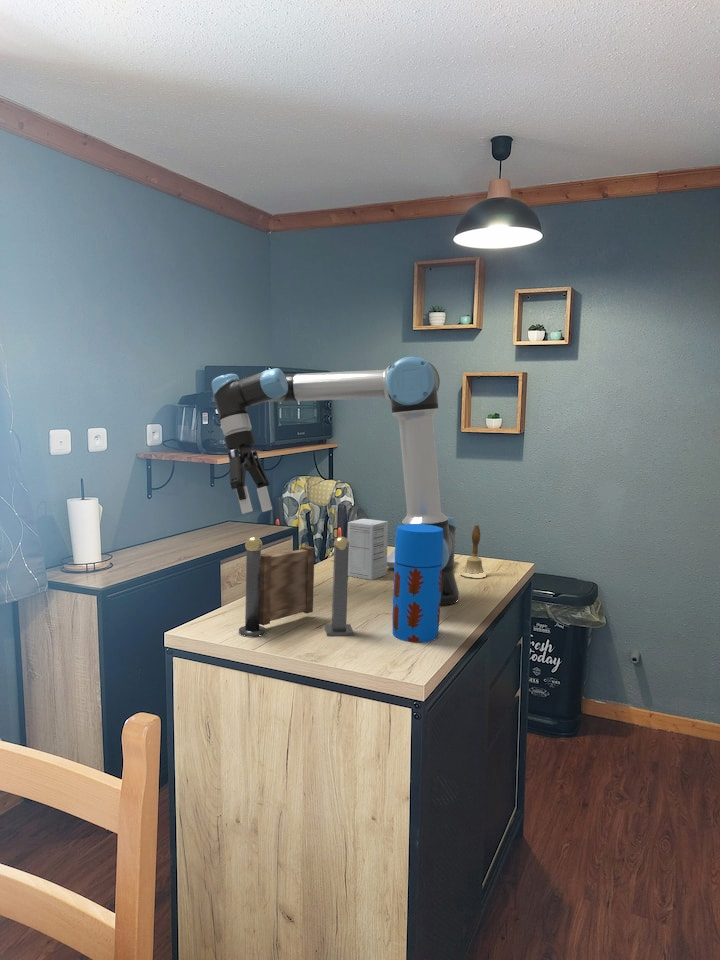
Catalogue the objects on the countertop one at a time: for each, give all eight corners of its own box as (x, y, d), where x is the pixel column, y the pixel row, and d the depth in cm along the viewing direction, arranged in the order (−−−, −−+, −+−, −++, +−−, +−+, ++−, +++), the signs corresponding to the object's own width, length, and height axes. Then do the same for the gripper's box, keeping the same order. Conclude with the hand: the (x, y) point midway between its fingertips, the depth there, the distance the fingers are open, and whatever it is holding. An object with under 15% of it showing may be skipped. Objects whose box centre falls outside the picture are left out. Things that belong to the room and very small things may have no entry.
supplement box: (387, 575, 222) (389, 521, 220) (372, 580, 214) (374, 525, 212) (361, 570, 227) (363, 517, 225) (345, 575, 219) (347, 521, 217)
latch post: (327, 635, 162) (329, 539, 160) (324, 627, 168) (327, 534, 166) (353, 635, 163) (356, 539, 161) (350, 627, 169) (353, 534, 167)
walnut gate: (263, 625, 164) (264, 556, 162) (256, 623, 165) (257, 554, 163) (312, 611, 175) (314, 547, 174) (306, 609, 177) (307, 546, 175)
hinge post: (269, 629, 165) (271, 535, 163) (260, 638, 159) (262, 539, 157) (244, 627, 166) (246, 533, 164) (234, 635, 161) (236, 538, 158)
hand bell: (467, 571, 230) (470, 522, 229) (491, 575, 226) (494, 525, 224) (455, 575, 224) (457, 525, 222) (479, 580, 219) (482, 528, 217)
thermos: (436, 644, 159) (441, 533, 156) (388, 640, 161) (392, 530, 158) (440, 629, 170) (445, 525, 167) (395, 625, 172) (400, 522, 169)
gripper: (244, 440, 201) (262, 513, 200) (203, 434, 177) (224, 517, 175) (268, 432, 199) (287, 506, 198) (231, 425, 175) (252, 509, 174)
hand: (257, 511), depth 187 cm, fingers open, 13 cm apart
